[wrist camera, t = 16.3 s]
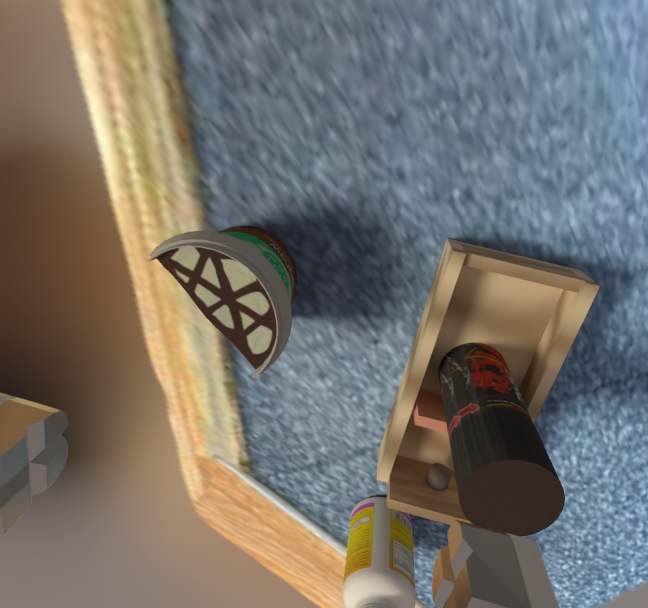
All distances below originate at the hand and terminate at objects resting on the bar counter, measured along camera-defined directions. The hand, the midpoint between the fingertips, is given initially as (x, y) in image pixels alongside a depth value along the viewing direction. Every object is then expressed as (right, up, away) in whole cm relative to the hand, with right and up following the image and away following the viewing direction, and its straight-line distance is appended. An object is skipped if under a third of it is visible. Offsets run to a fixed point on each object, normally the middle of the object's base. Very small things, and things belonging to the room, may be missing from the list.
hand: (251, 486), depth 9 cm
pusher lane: (+15, -3, +32) cm, 36 cm away
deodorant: (+15, -2, +32) cm, 35 cm away
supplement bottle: (+8, -20, +41) cm, 46 cm away
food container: (-3, +8, +32) cm, 33 cm away
